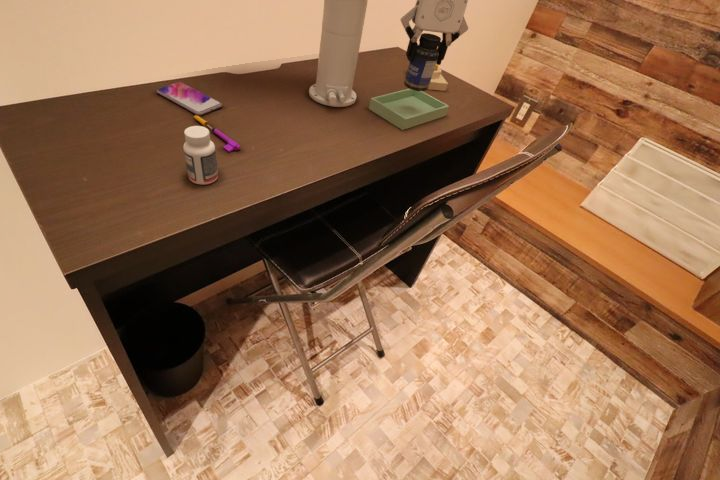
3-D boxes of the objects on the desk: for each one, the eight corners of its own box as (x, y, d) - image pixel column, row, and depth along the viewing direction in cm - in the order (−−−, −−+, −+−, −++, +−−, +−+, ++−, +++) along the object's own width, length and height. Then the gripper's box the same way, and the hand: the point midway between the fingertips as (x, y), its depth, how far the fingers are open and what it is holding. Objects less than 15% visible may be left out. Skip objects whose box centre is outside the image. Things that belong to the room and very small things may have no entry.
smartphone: (198, 113, 80) (155, 89, 85) (199, 117, 80) (155, 93, 85) (223, 103, 84) (180, 81, 89) (223, 107, 85) (181, 84, 89)
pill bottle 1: (220, 170, 68) (216, 125, 62) (215, 186, 65) (210, 141, 58) (191, 167, 68) (184, 122, 61) (185, 184, 64) (176, 137, 58)
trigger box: (445, 91, 108) (450, 77, 105) (416, 88, 107) (421, 74, 104) (434, 75, 116) (438, 61, 113) (407, 72, 115) (411, 58, 112)
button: (438, 72, 108) (440, 66, 107) (425, 71, 107) (427, 64, 106) (434, 67, 111) (436, 61, 109) (421, 65, 110) (423, 59, 109)
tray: (411, 97, 102) (414, 87, 100) (445, 116, 96) (449, 105, 94) (368, 108, 94) (370, 97, 92) (402, 130, 88) (405, 119, 86)
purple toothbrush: (242, 149, 73) (197, 117, 80) (240, 144, 72) (195, 112, 79) (231, 155, 73) (187, 123, 79) (230, 150, 72) (185, 118, 78)
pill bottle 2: (398, 82, 91) (412, 32, 83) (418, 80, 93) (433, 31, 85) (412, 92, 87) (428, 41, 79) (432, 91, 90) (449, 41, 81)
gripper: (416, -38, 69) (391, 63, 82) (499, -26, 71) (462, 71, 85) (407, -45, 74) (385, 52, 87) (485, -34, 76) (452, 59, 90)
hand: (423, 60), depth 86 cm, fingers closed on pill bottle 2, 6 cm apart
